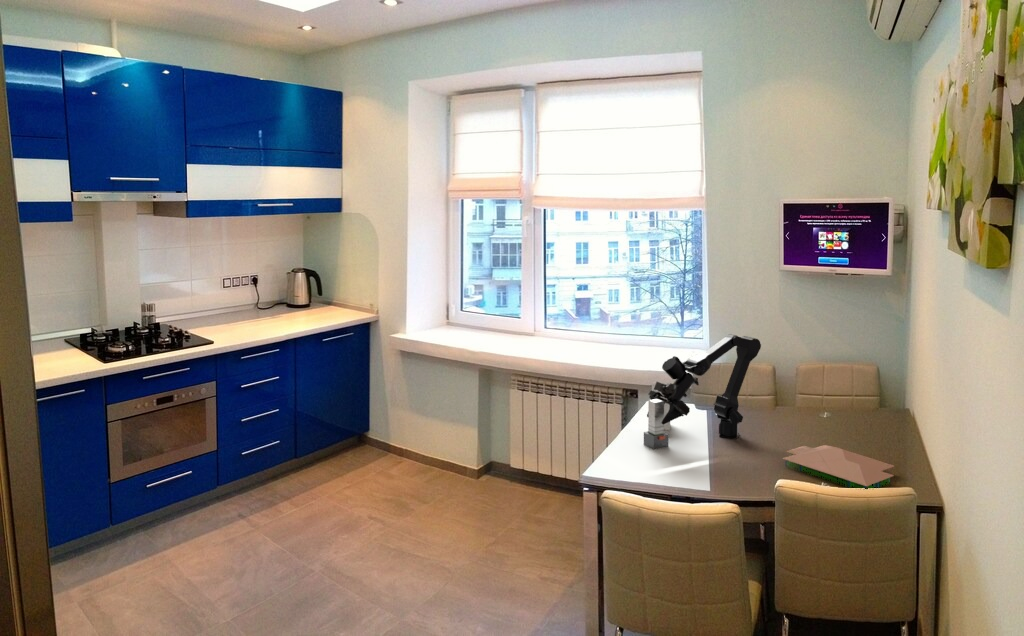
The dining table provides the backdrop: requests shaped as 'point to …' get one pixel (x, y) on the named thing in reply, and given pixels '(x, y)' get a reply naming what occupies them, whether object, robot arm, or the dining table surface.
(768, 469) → the dining table surface
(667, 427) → the milk carton
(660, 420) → the post
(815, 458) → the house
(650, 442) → the stand
